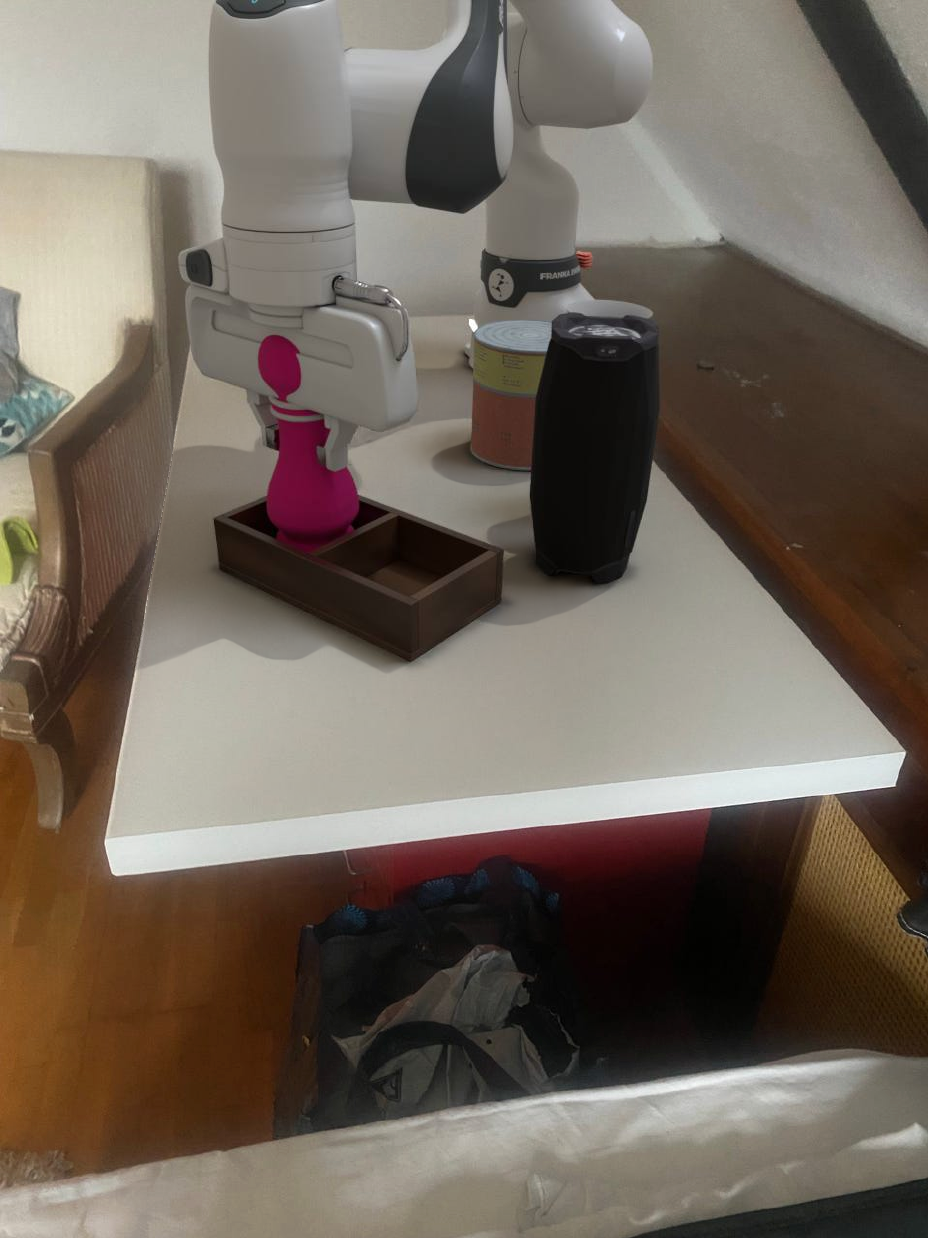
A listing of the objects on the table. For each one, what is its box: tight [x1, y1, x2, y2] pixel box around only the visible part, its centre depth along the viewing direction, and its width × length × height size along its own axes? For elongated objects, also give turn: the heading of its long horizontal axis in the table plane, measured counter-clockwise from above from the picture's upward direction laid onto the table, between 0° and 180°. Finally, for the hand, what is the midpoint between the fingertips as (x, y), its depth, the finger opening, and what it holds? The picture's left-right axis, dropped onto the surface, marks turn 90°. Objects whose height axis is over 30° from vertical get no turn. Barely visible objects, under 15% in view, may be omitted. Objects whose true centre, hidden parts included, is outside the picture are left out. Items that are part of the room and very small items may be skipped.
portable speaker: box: [528, 312, 661, 584], centre depth 74 cm, size 9×9×20 cm
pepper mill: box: [258, 335, 359, 553], centre depth 72 cm, size 7×7×20 cm
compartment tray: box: [212, 494, 505, 662], centre depth 74 cm, size 11×20×5 cm, turn 52°
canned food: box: [469, 320, 552, 472], centre depth 97 cm, size 11×11×12 cm
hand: (304, 457), depth 72 cm, fingers closed on pepper mill, 5 cm apart
